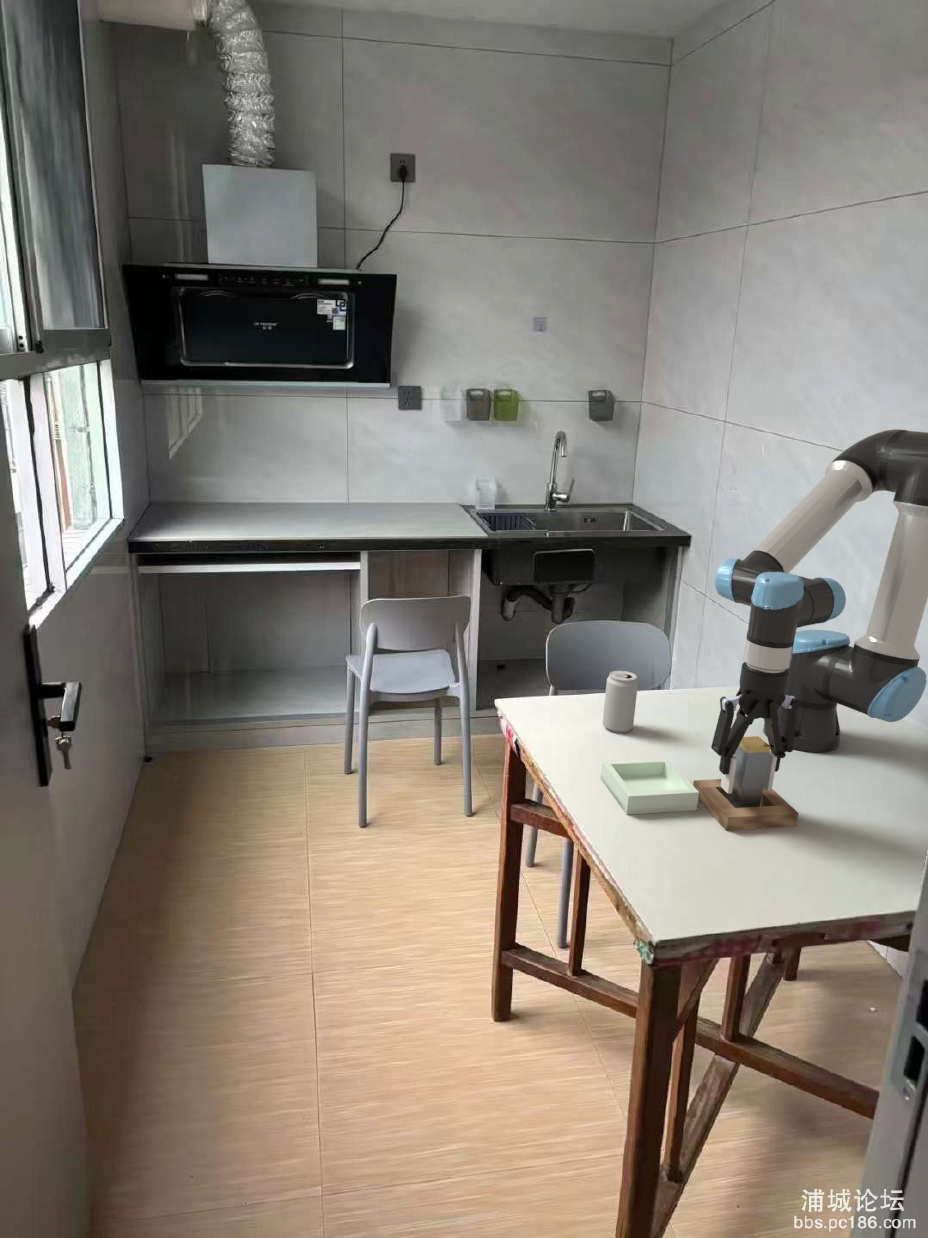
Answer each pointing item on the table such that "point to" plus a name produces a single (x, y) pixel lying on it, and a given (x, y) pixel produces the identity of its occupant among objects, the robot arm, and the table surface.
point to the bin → (649, 786)
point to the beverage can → (620, 701)
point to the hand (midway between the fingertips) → (745, 788)
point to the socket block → (732, 818)
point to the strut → (749, 772)
